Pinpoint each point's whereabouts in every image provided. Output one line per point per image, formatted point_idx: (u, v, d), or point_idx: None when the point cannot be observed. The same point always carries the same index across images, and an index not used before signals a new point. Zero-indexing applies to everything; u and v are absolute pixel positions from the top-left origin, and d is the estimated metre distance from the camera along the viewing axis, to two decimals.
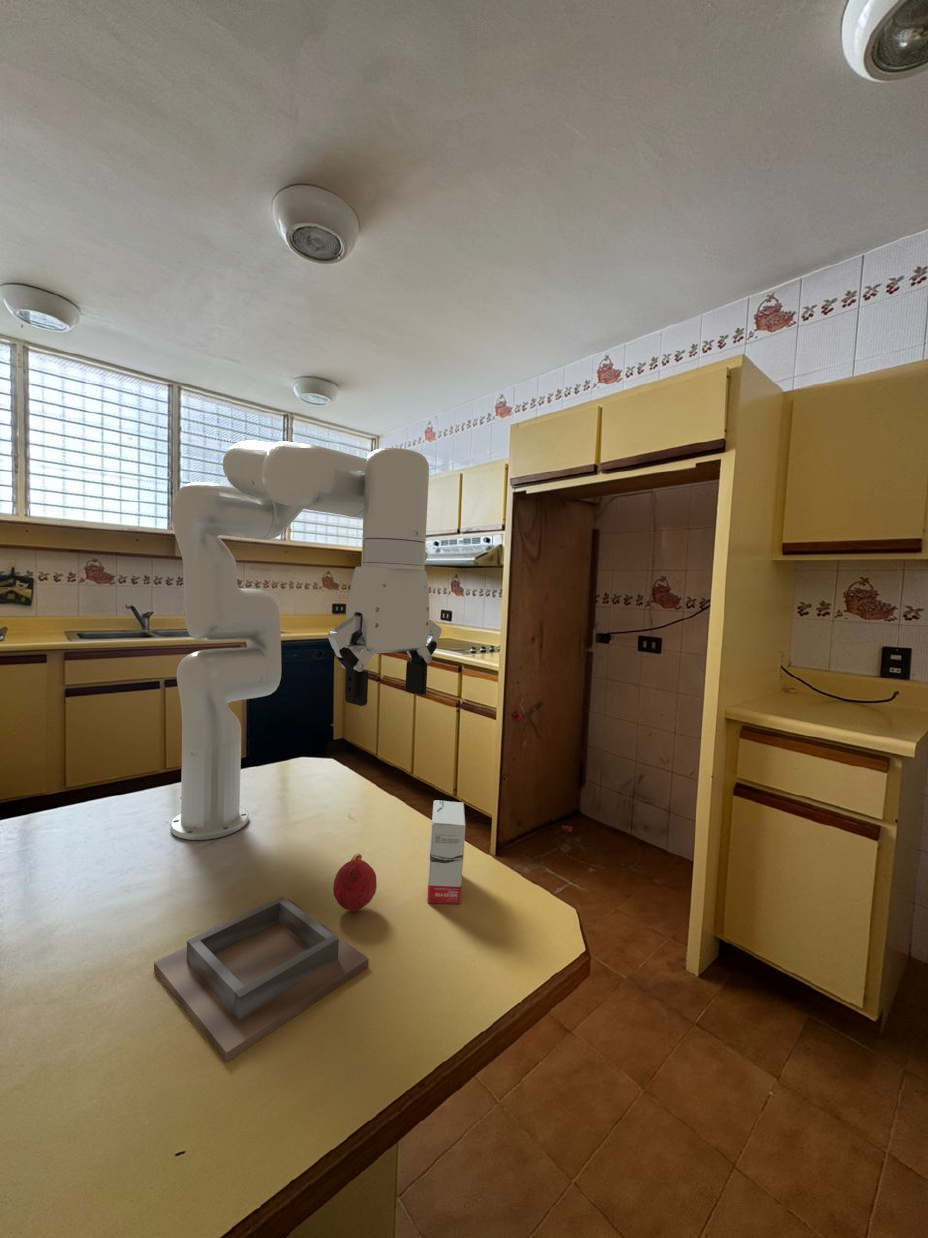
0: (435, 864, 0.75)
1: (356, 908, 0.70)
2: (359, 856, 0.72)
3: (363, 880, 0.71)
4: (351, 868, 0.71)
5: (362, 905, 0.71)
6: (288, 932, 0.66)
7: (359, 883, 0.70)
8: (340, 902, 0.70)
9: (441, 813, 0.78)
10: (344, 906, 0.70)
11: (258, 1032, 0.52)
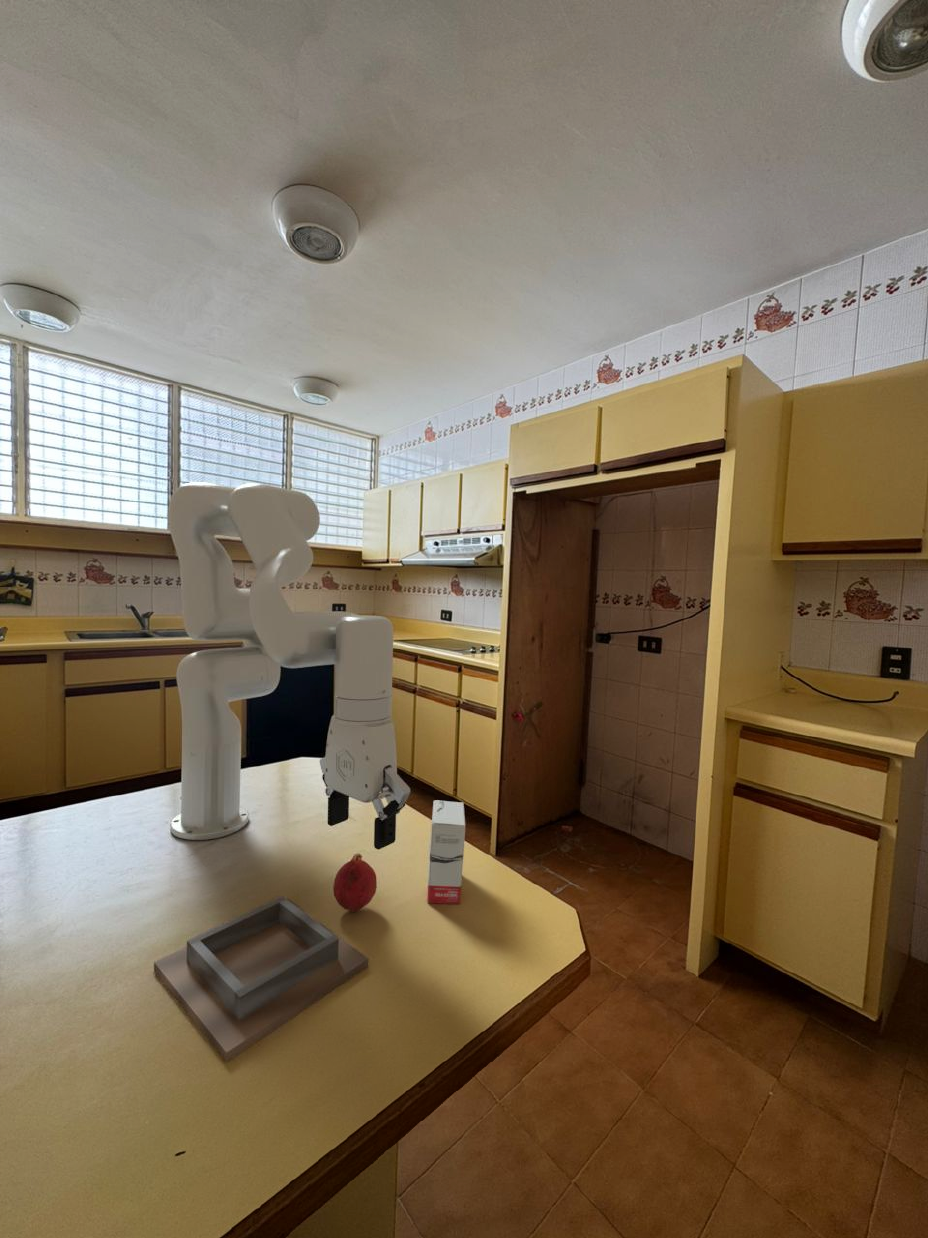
0: (435, 864, 0.75)
1: (356, 908, 0.70)
2: (359, 856, 0.72)
3: (363, 880, 0.71)
4: (351, 868, 0.71)
5: (362, 905, 0.71)
6: (288, 932, 0.66)
7: (359, 883, 0.70)
8: (340, 902, 0.70)
9: (441, 813, 0.78)
10: (344, 906, 0.70)
11: (258, 1032, 0.52)
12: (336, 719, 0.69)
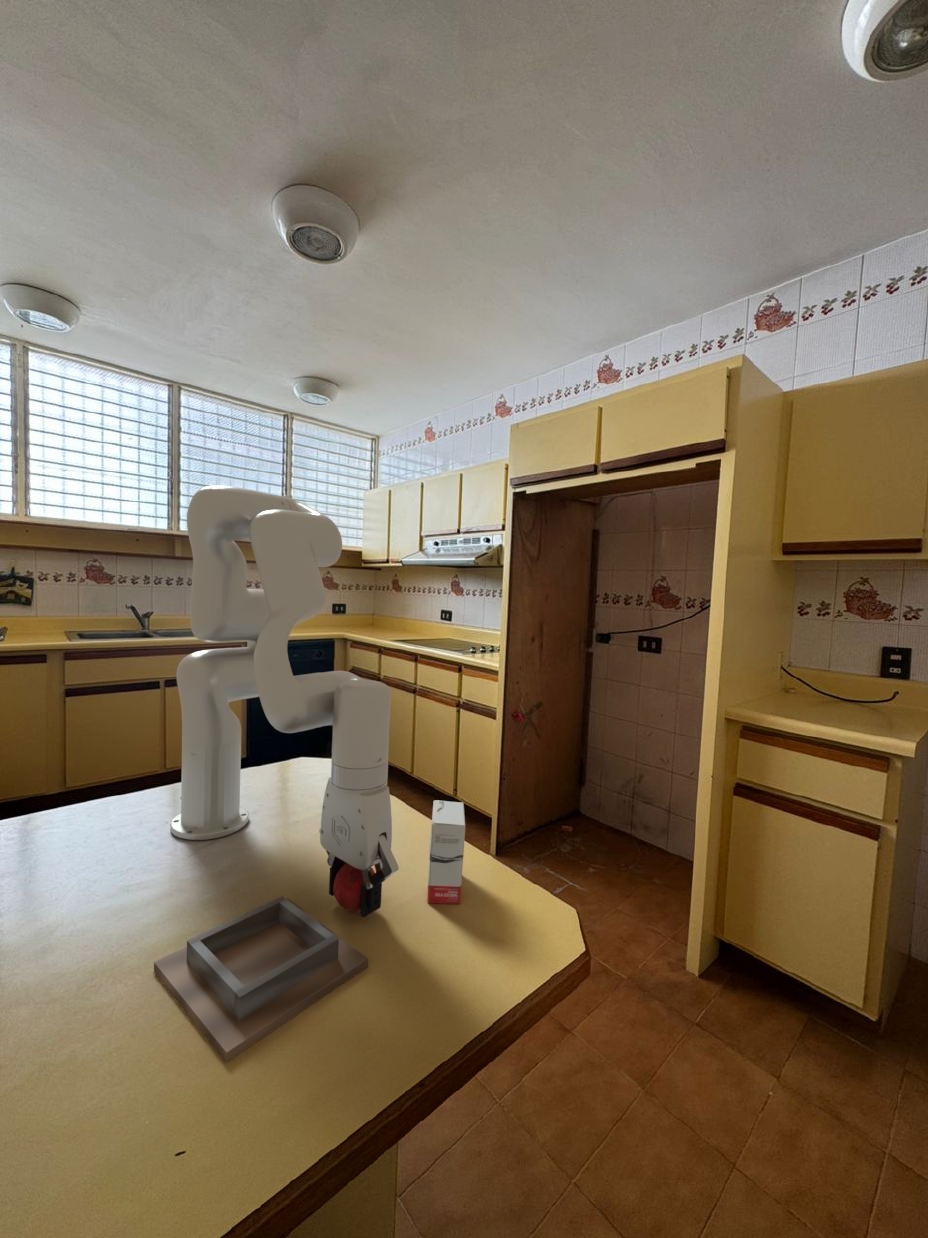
0: (435, 864, 0.75)
1: (356, 908, 0.70)
2: None
3: None
4: (351, 868, 0.71)
5: None
6: (288, 932, 0.66)
7: (359, 883, 0.70)
8: (340, 902, 0.70)
9: (441, 813, 0.78)
10: (344, 906, 0.70)
11: (258, 1032, 0.52)
12: (332, 785, 0.69)
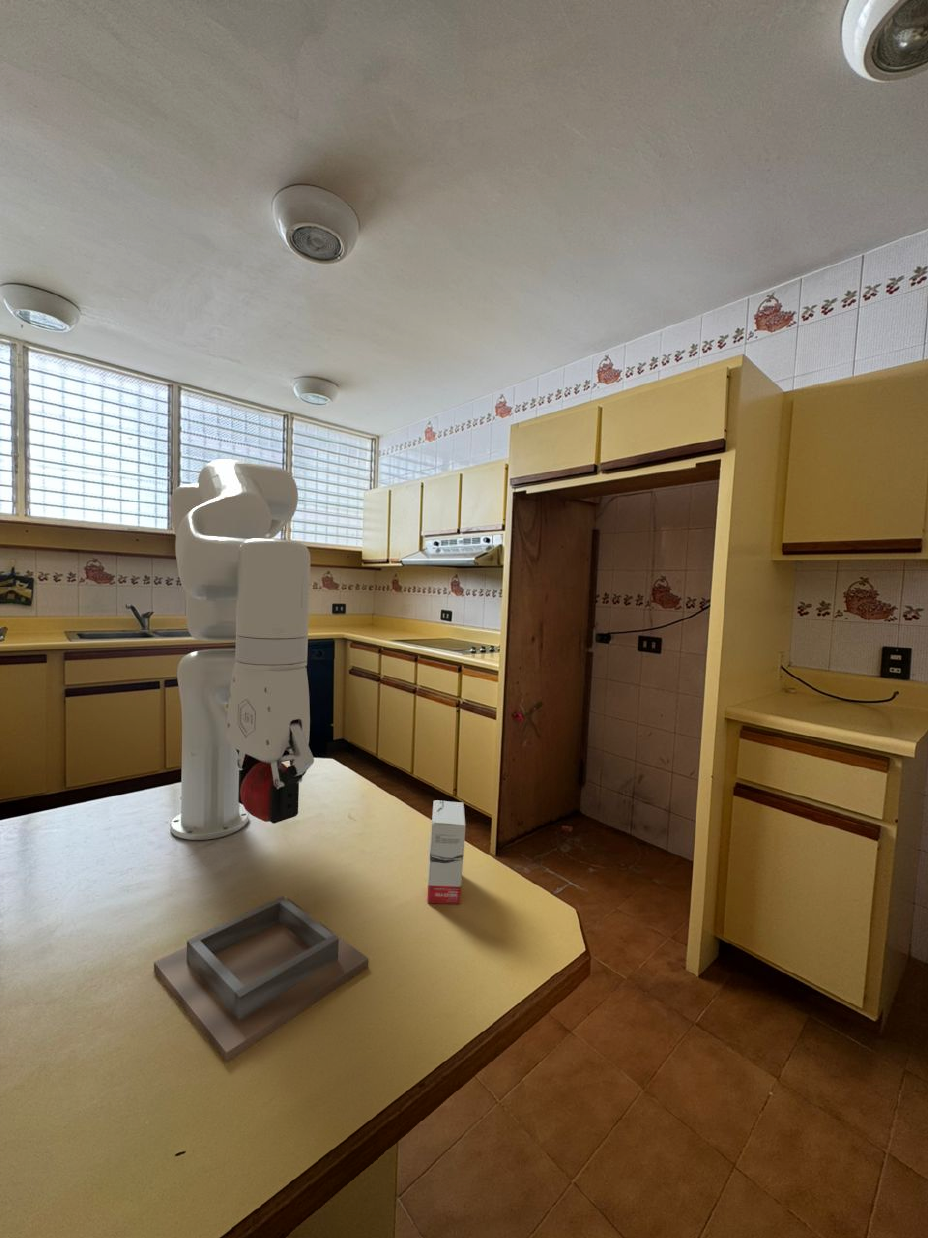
0: (435, 864, 0.75)
1: (267, 814, 0.58)
2: None
3: None
4: (261, 766, 0.58)
5: None
6: (288, 932, 0.66)
7: (269, 783, 0.58)
8: (246, 807, 0.58)
9: (441, 813, 0.78)
10: (251, 811, 0.58)
11: (258, 1032, 0.52)
12: (236, 662, 0.57)
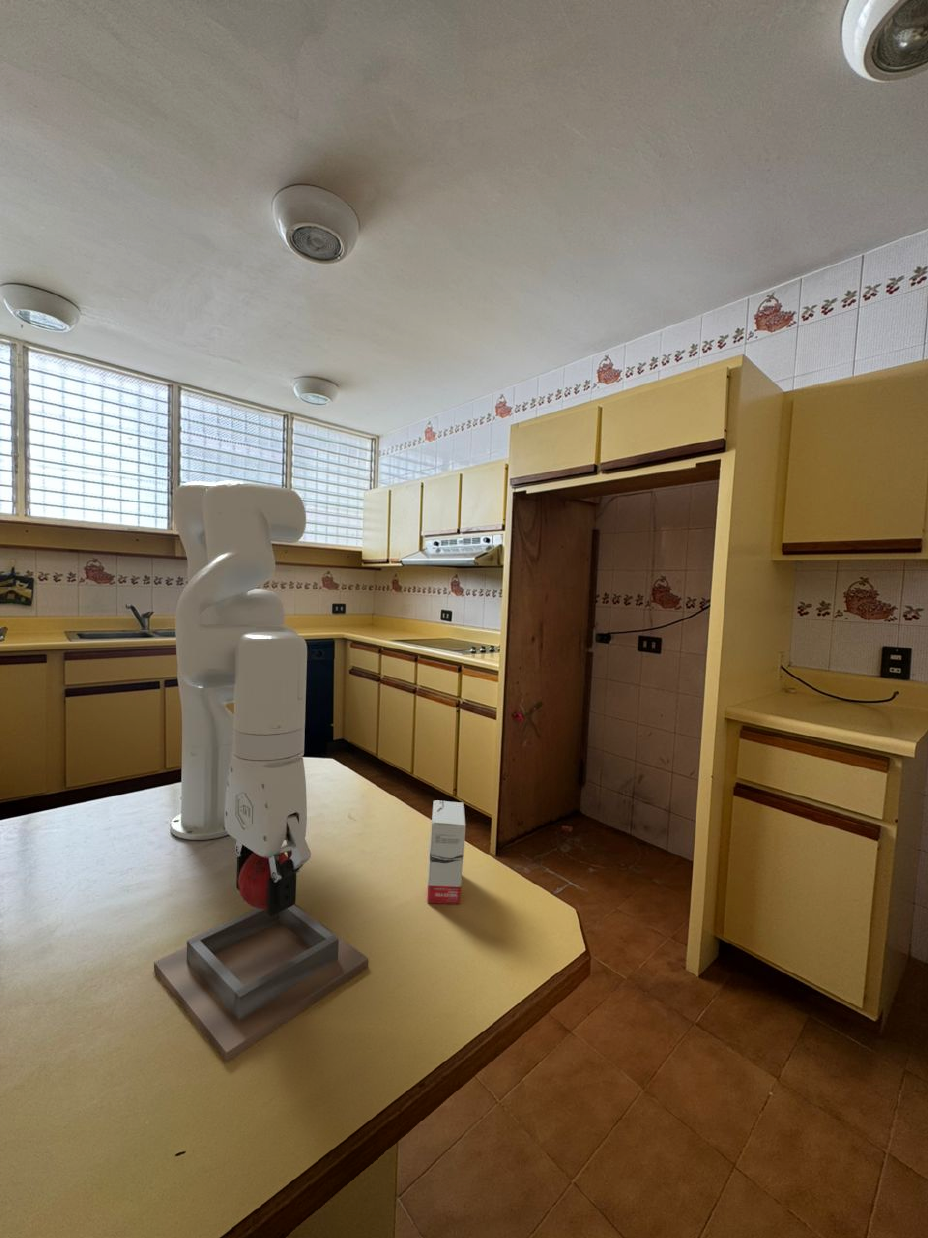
0: (435, 864, 0.75)
1: (264, 905, 0.58)
2: None
3: None
4: (258, 856, 0.59)
5: None
6: (288, 932, 0.66)
7: (267, 874, 0.58)
8: (244, 898, 0.58)
9: (441, 813, 0.78)
10: (249, 902, 0.58)
11: (258, 1032, 0.52)
12: (233, 756, 0.57)
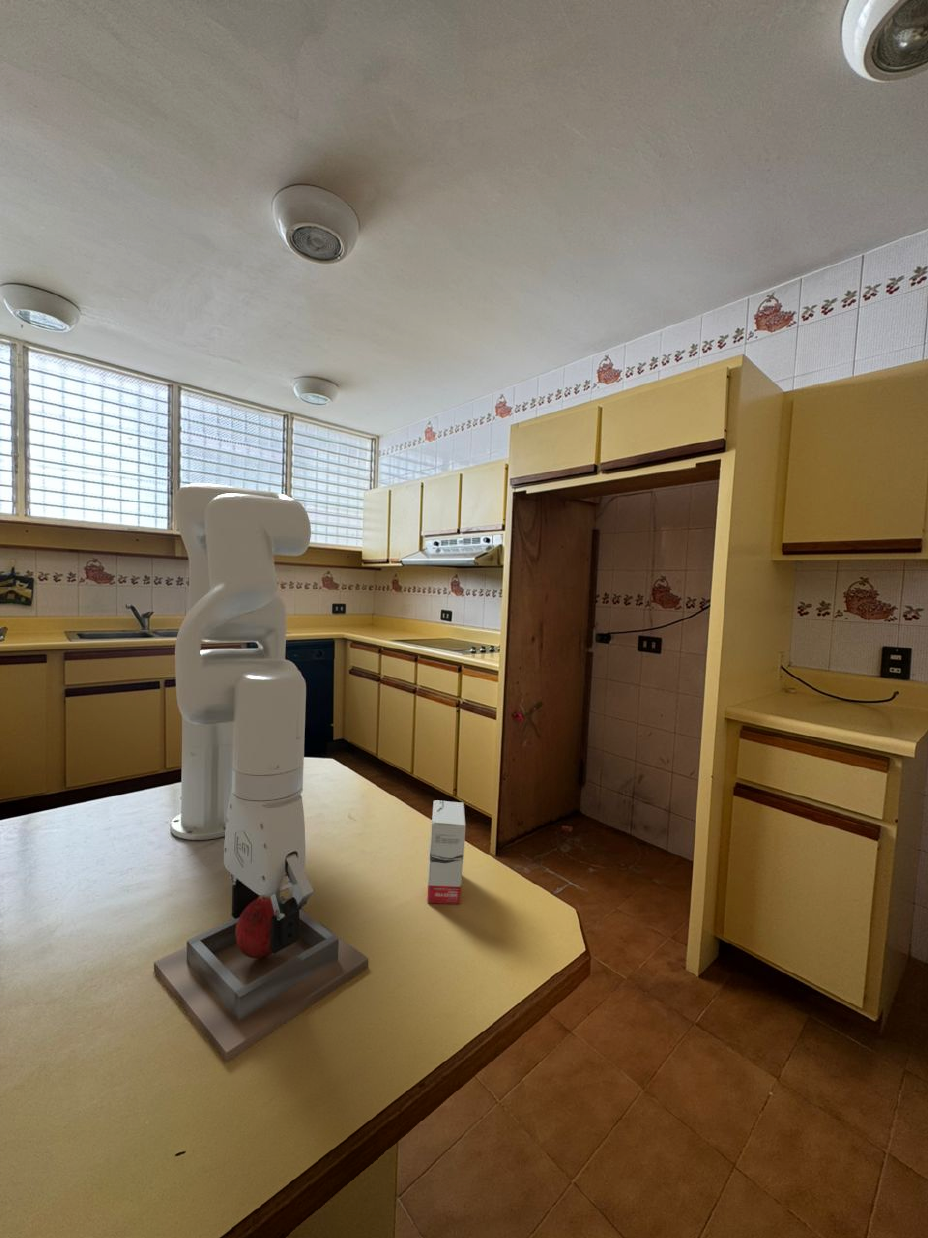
0: (435, 864, 0.75)
1: (261, 956, 0.59)
2: None
3: (269, 923, 0.59)
4: (255, 908, 0.60)
5: (268, 953, 0.59)
6: None
7: (263, 927, 0.59)
8: (241, 949, 0.59)
9: (441, 813, 0.78)
10: (246, 954, 0.59)
11: (258, 1032, 0.52)
12: (232, 795, 0.58)
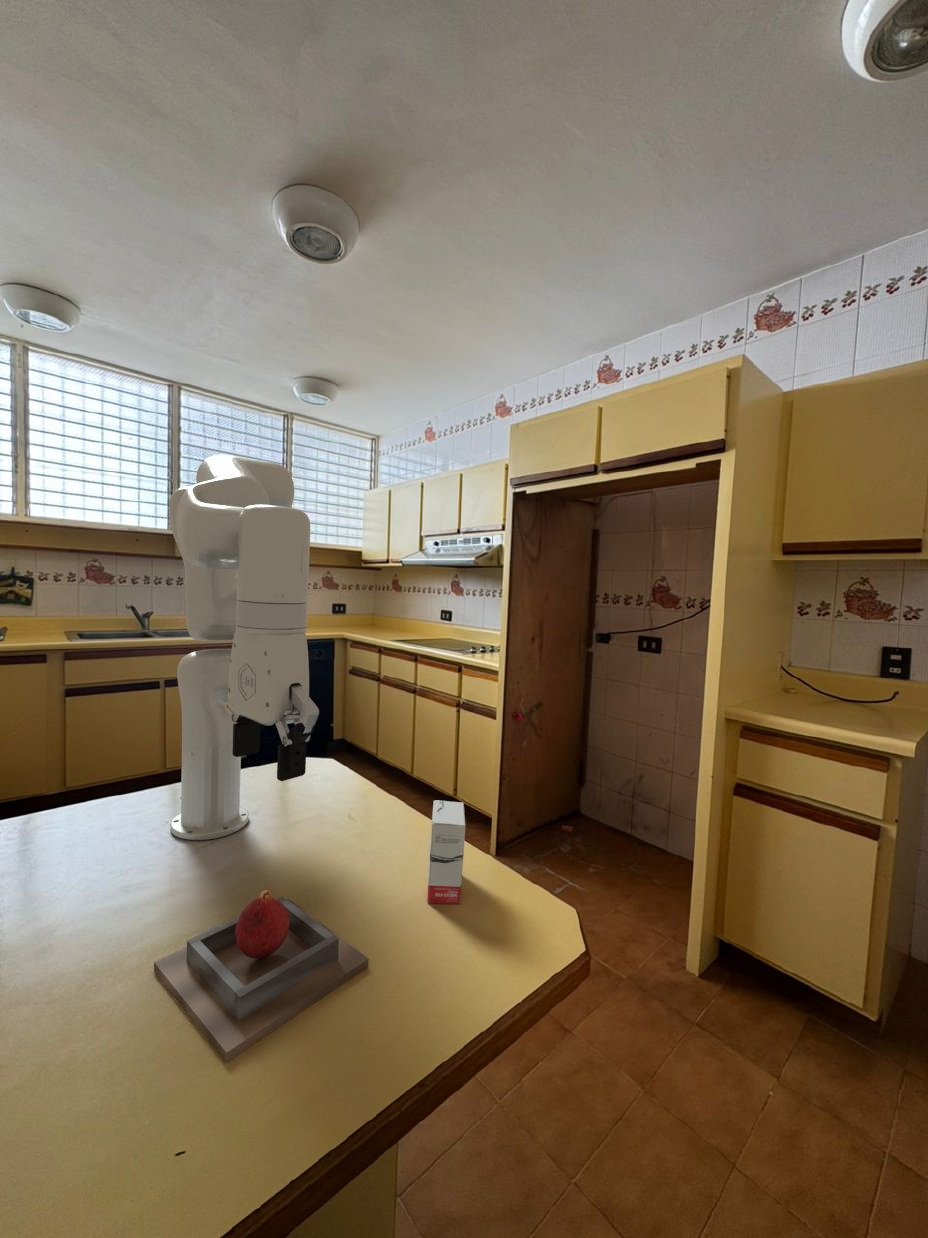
0: (435, 864, 0.75)
1: (261, 956, 0.59)
2: (267, 893, 0.61)
3: (269, 923, 0.59)
4: (255, 908, 0.60)
5: (268, 953, 0.59)
6: (288, 932, 0.66)
7: (263, 927, 0.59)
8: (241, 949, 0.59)
9: (441, 813, 0.78)
10: (246, 954, 0.59)
11: (258, 1032, 0.52)
12: (237, 627, 0.58)
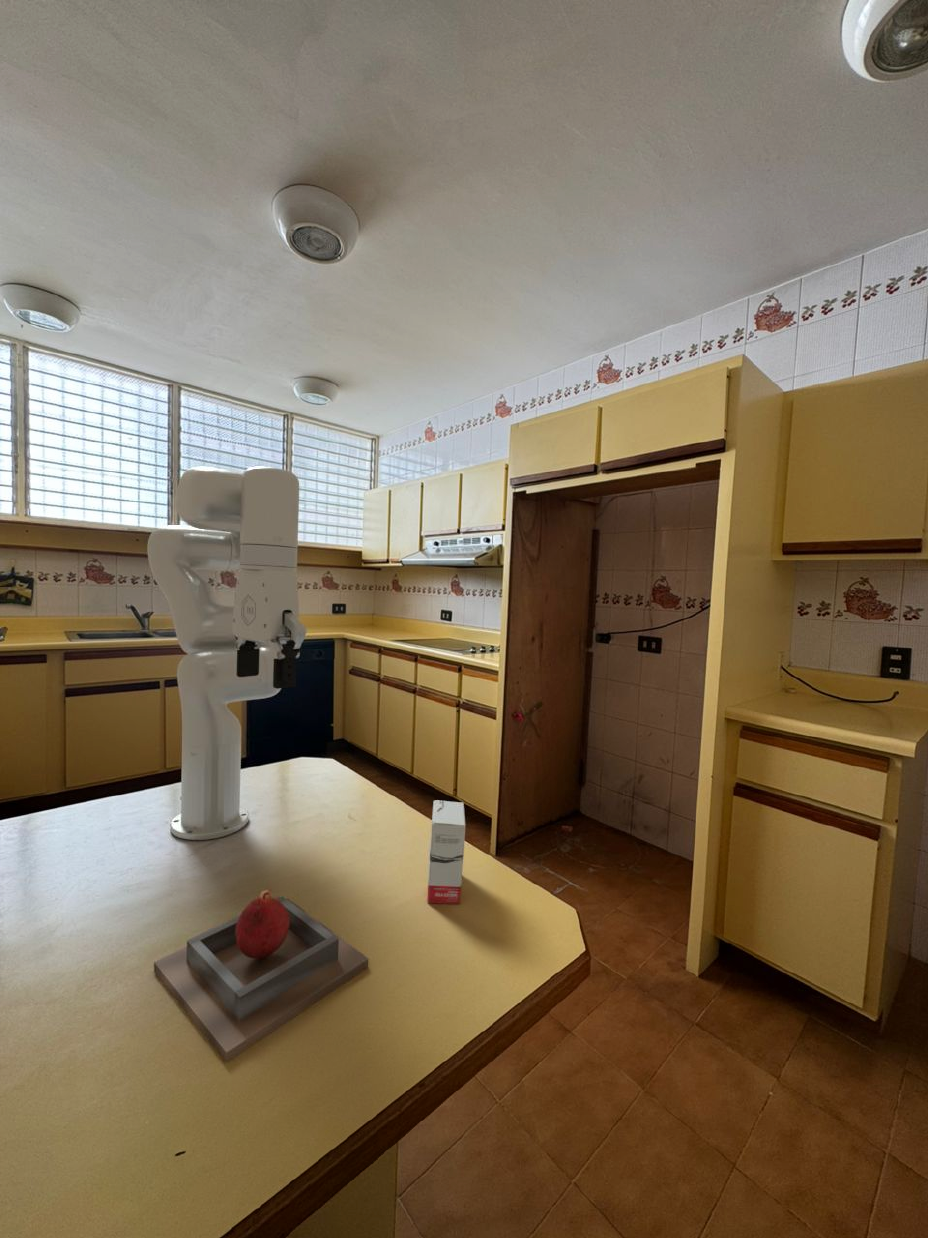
0: (435, 864, 0.75)
1: (261, 956, 0.59)
2: (267, 893, 0.61)
3: (269, 923, 0.59)
4: (255, 908, 0.60)
5: (268, 953, 0.59)
6: (288, 932, 0.66)
7: (263, 927, 0.59)
8: (241, 949, 0.59)
9: (441, 813, 0.78)
10: (246, 954, 0.59)
11: (258, 1032, 0.52)
12: (240, 566, 0.72)
